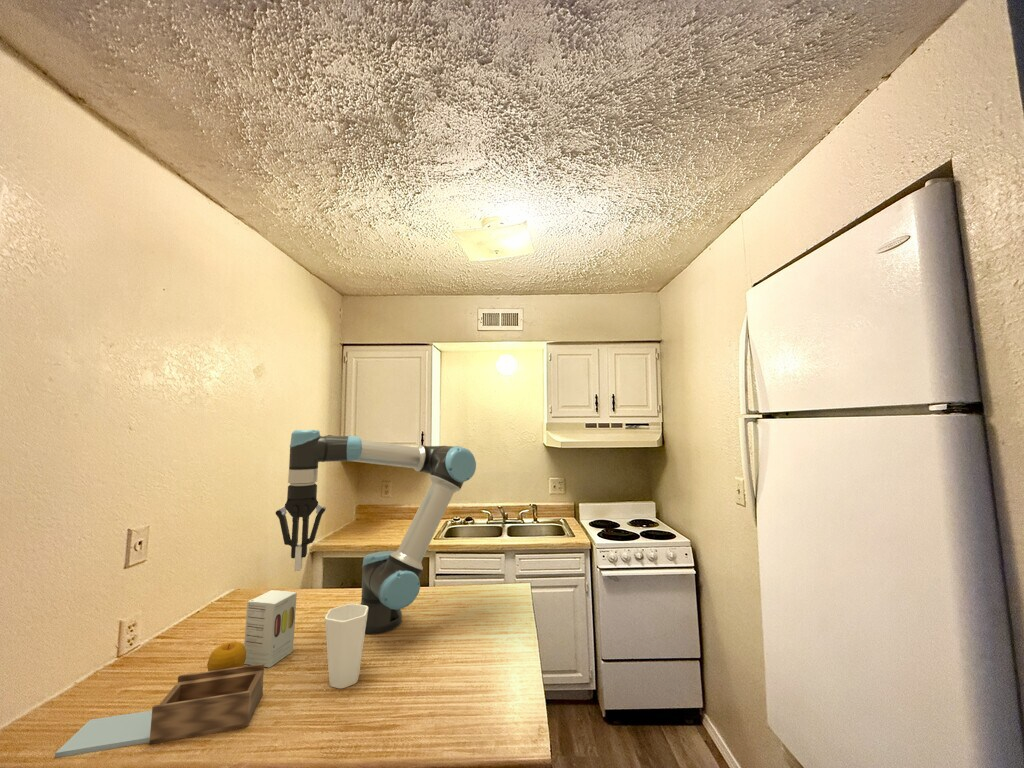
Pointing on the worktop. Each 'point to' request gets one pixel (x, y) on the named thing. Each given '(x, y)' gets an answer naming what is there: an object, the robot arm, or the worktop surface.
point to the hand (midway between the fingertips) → (298, 569)
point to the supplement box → (270, 627)
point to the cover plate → (109, 734)
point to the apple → (227, 656)
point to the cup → (345, 643)
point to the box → (208, 703)
